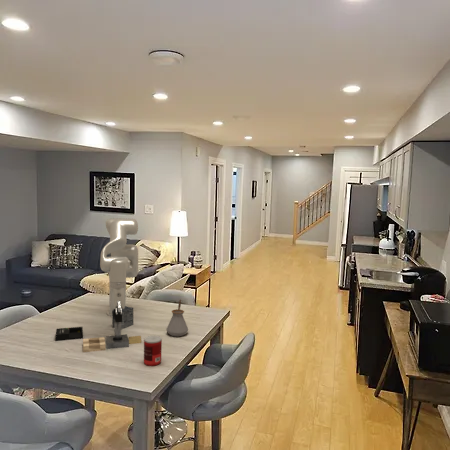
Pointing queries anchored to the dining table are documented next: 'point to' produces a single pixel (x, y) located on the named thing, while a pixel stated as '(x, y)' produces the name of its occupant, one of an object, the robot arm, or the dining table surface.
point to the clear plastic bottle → (117, 331)
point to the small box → (124, 317)
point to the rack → (94, 344)
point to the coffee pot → (177, 323)
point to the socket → (117, 342)
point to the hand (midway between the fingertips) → (117, 319)
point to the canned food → (152, 350)
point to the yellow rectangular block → (134, 339)
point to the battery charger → (69, 333)
